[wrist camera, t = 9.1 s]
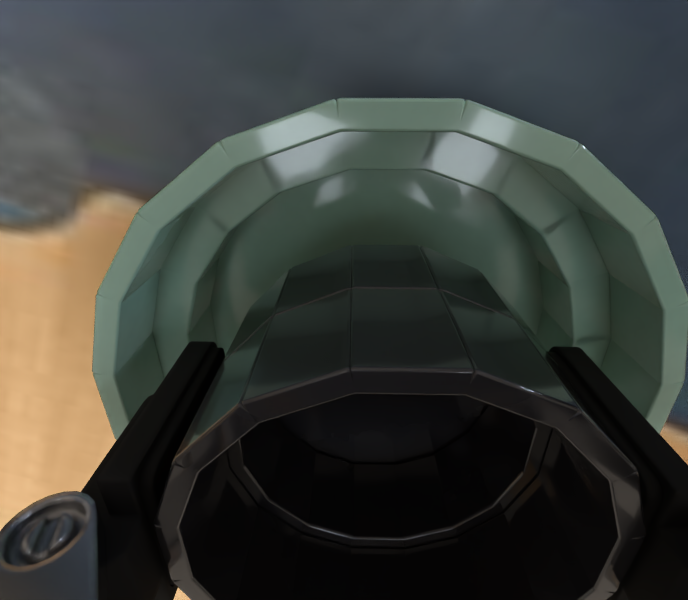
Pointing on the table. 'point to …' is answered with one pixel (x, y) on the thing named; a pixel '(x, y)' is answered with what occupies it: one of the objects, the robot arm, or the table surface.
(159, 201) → the celadon bowl
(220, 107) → the table surface
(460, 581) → the charcoal bowl
